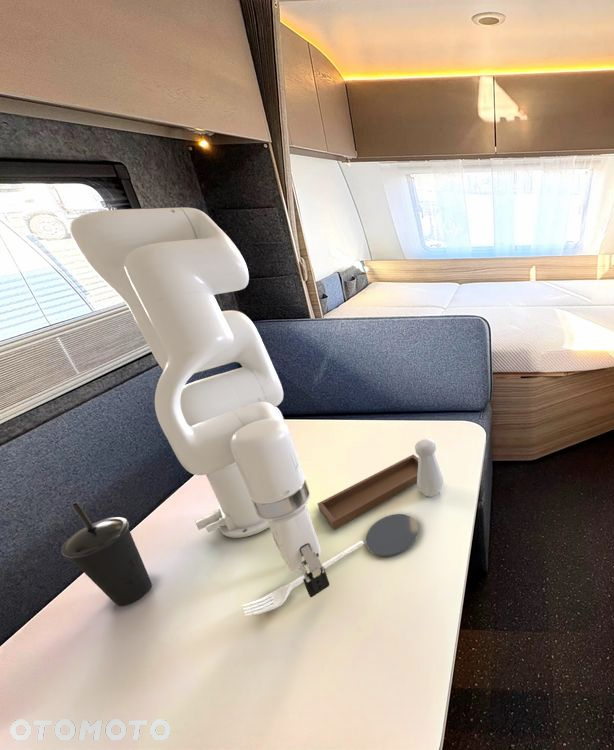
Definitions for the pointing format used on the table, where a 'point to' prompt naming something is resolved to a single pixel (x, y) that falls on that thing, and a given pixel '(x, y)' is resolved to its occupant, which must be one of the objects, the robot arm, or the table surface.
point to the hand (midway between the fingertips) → (309, 572)
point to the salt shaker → (428, 468)
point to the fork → (289, 588)
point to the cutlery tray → (369, 492)
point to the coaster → (392, 535)
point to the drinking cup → (109, 558)
